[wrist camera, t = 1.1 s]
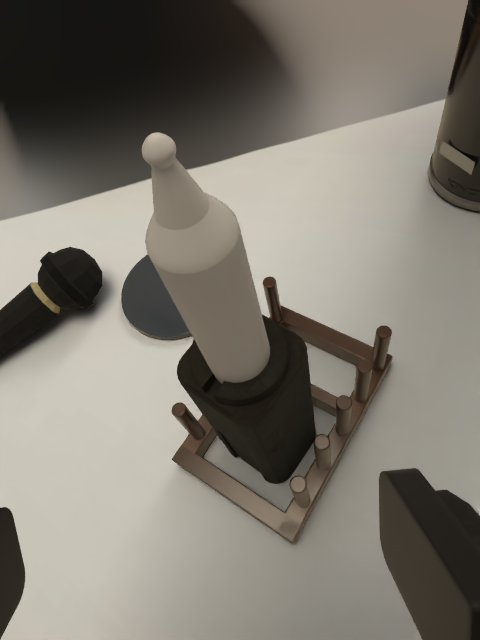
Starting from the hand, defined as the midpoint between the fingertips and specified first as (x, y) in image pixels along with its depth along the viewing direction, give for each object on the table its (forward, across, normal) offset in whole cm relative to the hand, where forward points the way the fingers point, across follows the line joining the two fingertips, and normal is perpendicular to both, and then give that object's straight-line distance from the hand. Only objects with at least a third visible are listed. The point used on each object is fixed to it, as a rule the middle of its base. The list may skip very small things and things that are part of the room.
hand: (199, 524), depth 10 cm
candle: (+21, -3, +9) cm, 23 cm away
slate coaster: (+31, +3, 0) cm, 31 cm away
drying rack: (+22, -4, +8) cm, 23 cm away
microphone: (+32, +18, +3) cm, 37 cm away
